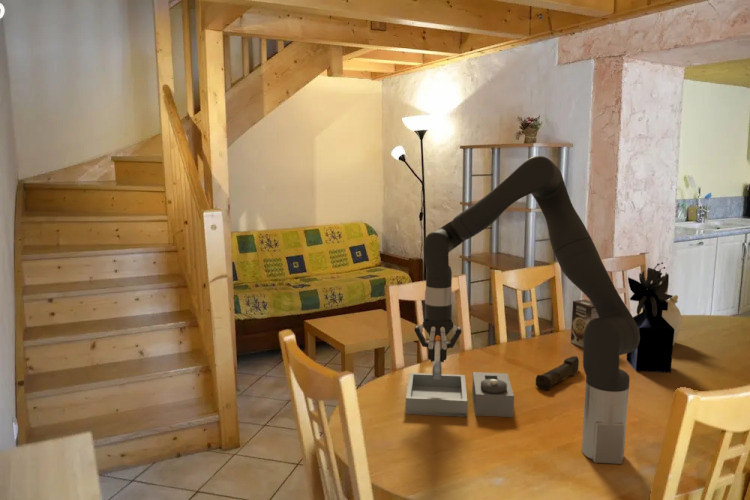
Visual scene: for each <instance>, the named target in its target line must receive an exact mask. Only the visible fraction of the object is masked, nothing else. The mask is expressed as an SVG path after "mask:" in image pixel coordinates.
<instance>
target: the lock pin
mask: <svg viewBox="0 0 750 500" xmlns="http://www.w3.org/2000/svg"><path fill="white" fill-rule="evenodd" d="M441 360H442V339H441V336H439V335H436V336H434V342H433V362H432V374H433V379H437V380H438V379H441V374H442V370H443V369H442V366H443V365H442V363H443V362H441Z"/></svg>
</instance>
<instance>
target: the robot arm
mask: <svg viewBox="0 0 750 500" xmlns="http://www.w3.org/2000/svg"><path fill="white" fill-rule="evenodd" d="M565 183H566V182H565V181H564V177H563V174H562V172H561V170H560V168H559V167H558V166H557V164H555V163H554V162H553V161H552V160H550V158H548V157H546V156H543V155H534V156H532V157H530V158H528V159H526V160H525V161H524V162H522V164H520V165H519V166H518V167H517V168H516V169H515V170H513V172H511V173H510V175H509V176H508V177H507V178H505V179H504V180H503V181H502V182H501V183H499V184H498V185H497V186H496V187H495V188H494V189H493V190H491V191H490V192H489V193H488V194H487V195H485V196H483V197H482V198H480V199H479V200H478V201H477V202H475V203H473V204H472V205H471V206H469V207H467V208H466V209H465V210H464V211H462V212H460V213H458V214H457V215H456V216H455V217H453V219H452V220H450V221H449V222H448V223H446V224H444V225H442V226H441V227H439V228H438V229H435V230H434V231H432V232H430V233H428V234H427V235H426V237H425V238H424V241H423V258H424V263H425V268H426V270H425V271H426V273H425V291H424V320H423V322H422V324H419V325H414V332H415V334H416V337H417V338H418V340H419V342H420V344H421V346H422V347H423V348H427V350H428V351H427V354H428V355H427V359H428V361H429V360H430V362H432V363H433V342H434V336H436V335H439V336H441V339H442V360H441V362H442V363H444V362H445V361H446V360H447V358H448V357H447V356H448V355H447V351H448V349H450V348H451V349H453V348H454V346H455V344H456V343H457V341H458V339H459V338H460V336H461V333H462V332H463V331H462V327H461V326H456V325H455V324H454V322H453V319H452V318H453V316H452V315H453V289H452V285H453V284H452V280H453V277H452V276H453V272H452V267H451V266H450V262H449V261H450V259H449V253H450V252H452V251H453V250H454V249H455V248H457V247H458V246H460V245H461V244H462V243H464V242H465V241H468V240H469V239H471V238H473V237H475V236H476V235H478V234H480V233H481V232H482V231H484V230H485V229H487V228H488V227H489V226H491V225H492V224H493V223H494V222H495V221H496V220H497V219H498V218H500V216H501V215H502V214H503V213H504V212H505V211H506V210H507V209H508V208H509V207H510V206H512V204H514V203H516V202H517V201H519V200H521V199H522V198H524V197H526V196H529V195H532V197H533V199H534V200H535V201H536V203H537V204H538V206H539V208H540V210H541V213H542V214H543V216H544V219H545V222H546V226H547V231H548V238H549V242H550V245H551V249H552V252H553V253H554V255H555V259H556V261H557V262H558V265H559V267H560V269H561V271H562V272H563V274H564V275H565V277H566V278H567V279H568V280H569V281H570V282H571V283H572V284H573V285H575V286H576V287H577V288H578V290H580V291H581V292H582V293H583V294H584V295H585V296H586V297H587V298H588V300H589V301H591V302H592V304H593V306H594V308H595V310H596V312H597V314H598V316H599V318H595V319H592V320H591V321H589V322H588V324H587V325H586V328H585V331H584V337H583V347H582V365H583V370H584V374H585V389H584V390H585V391H584V392H585V393H584V404H583V421H582V437H581V438H582V440H581V453H582V454H583V455H584V456H585V457H587V458H589V459H590V460H592V462H593V463H598V464H599V463H601V464H618V465H622V464H623V460H624V458H625V446H626V432H627V431H626V430H627V418H628V406H629V405H628V403H629V389H630V375H629V374H628V373H627V371H625V370H623V369H621V368H620V356H622V355H627V353H630V352H632V351H634V350H635V349H636V348H637V347H638V345H639V342H640V333H639V329H638V326H637V324H636V322H635V320H634V319H633V317H634V316H633V315H632V314H631V311H630V310H629V308H628V307H627V306H626V304H625V302H624V300H623V299H622V297H621V296H620V294H619V292H618V289H616V287H615V285H614V282H613V281H612V279H611V276H610V275H609V273H608V271H607V269H606V267H605V265H604V263H603V261H602V258H601V257H600V254H599V251H598V250H597V247H596V246H595V243H594V241H593V239H592V237H591V235H590V233H589V231H588V229H587V228H586V225H585V223H584V222H583V220H582V218H581V217H580V216H579V214H578V212H577V211H576V210H575V207H574V205H573V203H572V201H571V198H570V195H569V193H568V189H567V187H566V184H565ZM424 330H425V332H427V334H428V337H429V339H428V341H427V339H426V338H425V336H424V333H423V332H424ZM451 331H452V337H451V338H450V340H449V341H448V342H447V335H448V334H449V333H450V332H451Z"/></svg>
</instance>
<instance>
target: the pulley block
mask: <svg viewBox="0 0 750 500" xmlns="http://www.w3.org/2000/svg"><path fill="white" fill-rule="evenodd" d="M471 387H472V388H471V389H472V399H473V407H474V413H475V414H474V416H481V417H482V416H484V417H500V418H501V417H504V418H514V409H515V408H514V405H515V394H514V391H513V387H512V384H511V382H510V376H509V374H508V373H506V372H505V373H504V372H502V373H501V372H485V371H484V372H480V371H479V372H478V371H473V372H472V386H471Z"/></svg>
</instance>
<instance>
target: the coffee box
mask: <svg viewBox="0 0 750 500" xmlns="http://www.w3.org/2000/svg"><path fill="white" fill-rule="evenodd" d="M571 315H572V316H571V329H570V330H571V333H570V343H571V344H573V345H576V346H578V347H581V348H583V337H584V331H585V328H586V325H587V324H588V322H589V321H591V320H592V319H595V318H599V316H598V314H597V312H596V310H595V308H594V306H593V304H592V302H591V301H590V300H589V299H588V300H587V299H579V300H578V299H576V300H572V314H571Z"/></svg>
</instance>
